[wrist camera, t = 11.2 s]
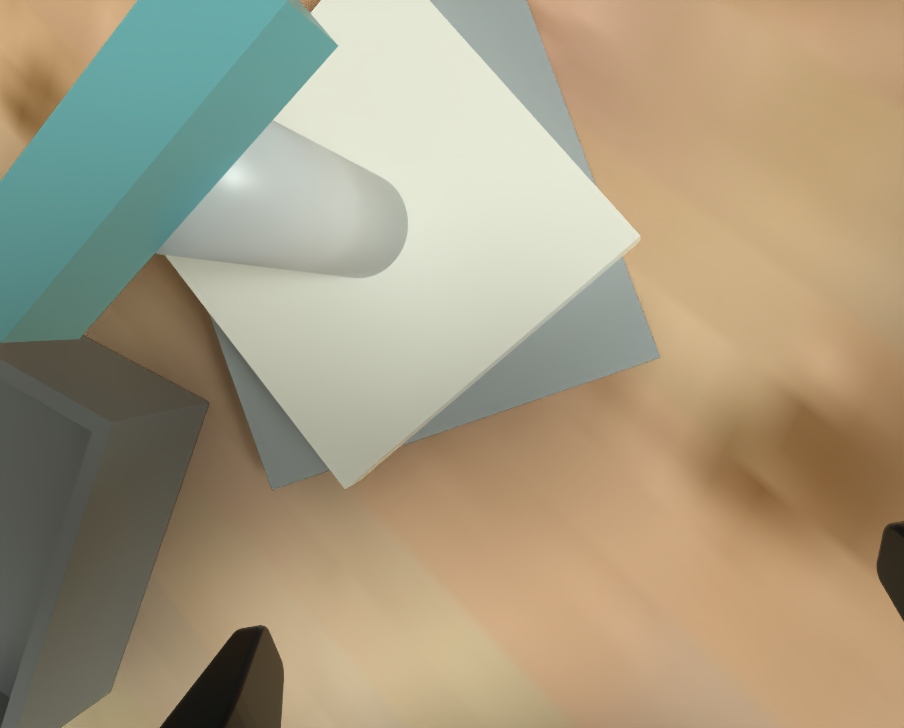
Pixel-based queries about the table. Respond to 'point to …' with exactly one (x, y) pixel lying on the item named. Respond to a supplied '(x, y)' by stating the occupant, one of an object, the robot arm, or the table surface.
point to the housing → (80, 516)
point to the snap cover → (308, 206)
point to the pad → (548, 348)
